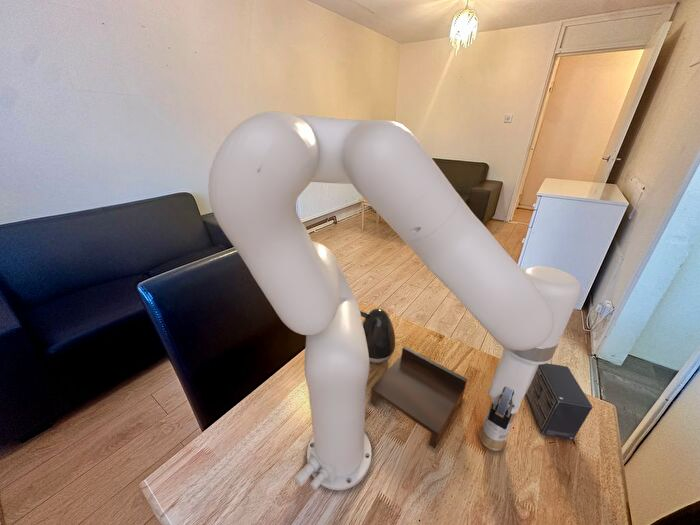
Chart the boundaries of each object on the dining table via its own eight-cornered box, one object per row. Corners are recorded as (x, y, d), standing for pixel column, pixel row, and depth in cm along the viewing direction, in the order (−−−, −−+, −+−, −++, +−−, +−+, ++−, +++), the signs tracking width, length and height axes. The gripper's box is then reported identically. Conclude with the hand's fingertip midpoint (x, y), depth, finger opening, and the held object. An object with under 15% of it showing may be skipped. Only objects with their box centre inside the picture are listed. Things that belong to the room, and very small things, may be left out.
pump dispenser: (360, 339, 85) (361, 297, 78) (395, 344, 83) (399, 301, 76) (353, 365, 76) (354, 320, 69) (392, 371, 74) (397, 325, 67)
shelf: (435, 449, 57) (440, 425, 53) (370, 402, 66) (371, 380, 63) (461, 401, 66) (467, 378, 63) (402, 367, 75) (404, 345, 72)
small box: (576, 442, 58) (596, 408, 53) (541, 435, 59) (557, 402, 54) (553, 397, 67) (569, 365, 62) (523, 392, 68) (536, 360, 64)
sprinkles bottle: (496, 429, 60) (512, 385, 54) (507, 451, 56) (526, 406, 50) (475, 430, 60) (489, 386, 54) (484, 452, 56) (501, 407, 50)
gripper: (515, 307, 54) (493, 375, 62) (487, 359, 42) (465, 434, 51) (562, 324, 50) (532, 395, 58) (545, 386, 38) (510, 463, 46)
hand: (501, 412), depth 54 cm, fingers closed on sprinkles bottle, 4 cm apart
